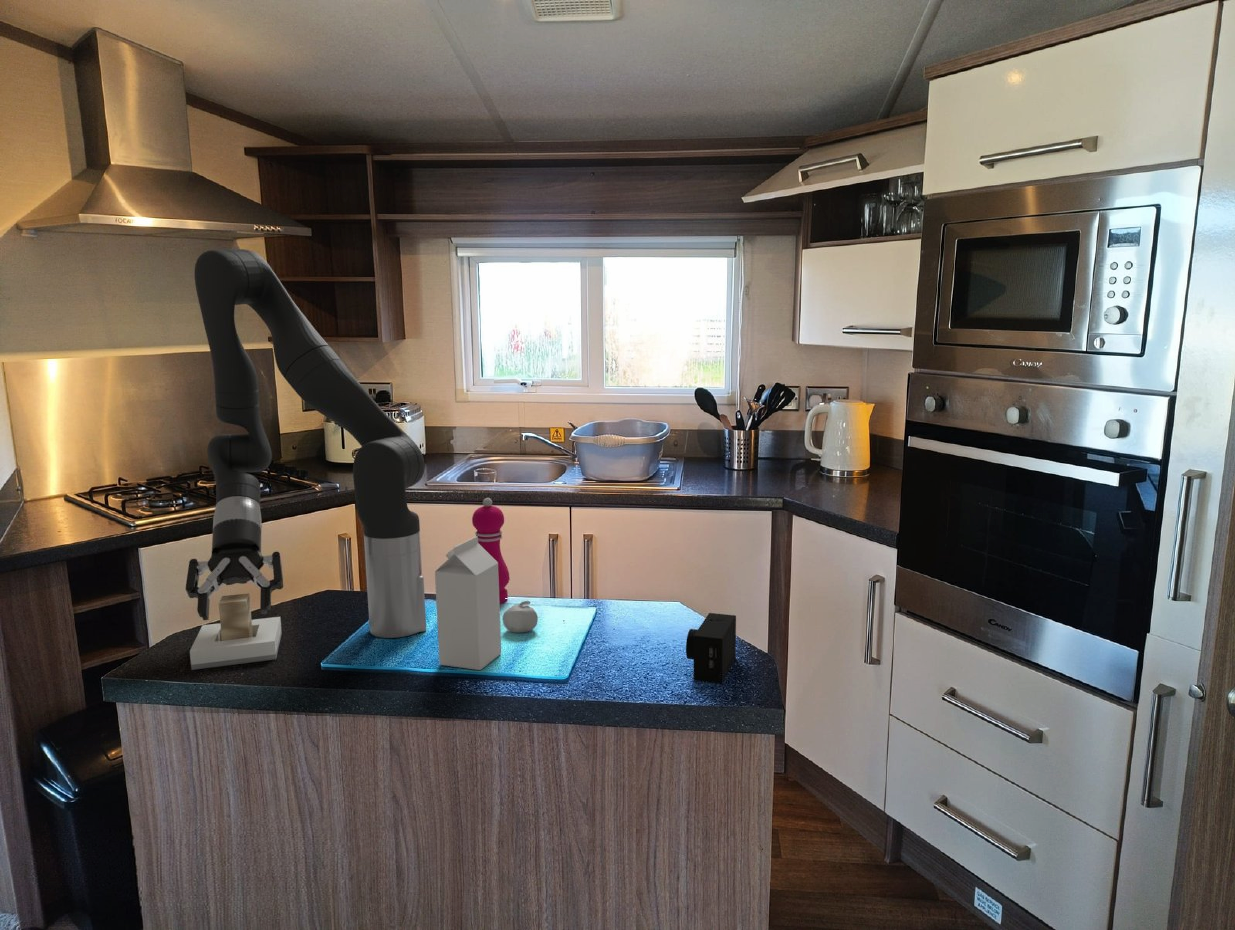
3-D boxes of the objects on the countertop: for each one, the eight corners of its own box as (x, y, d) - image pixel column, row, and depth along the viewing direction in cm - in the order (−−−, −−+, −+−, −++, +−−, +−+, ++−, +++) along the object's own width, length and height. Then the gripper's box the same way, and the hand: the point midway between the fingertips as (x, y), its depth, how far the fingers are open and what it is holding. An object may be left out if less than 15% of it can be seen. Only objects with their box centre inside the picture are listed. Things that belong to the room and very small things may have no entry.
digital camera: (701, 653, 128) (701, 611, 127) (735, 657, 126) (736, 614, 125) (685, 679, 118) (685, 634, 117) (722, 684, 116) (722, 638, 115)
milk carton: (501, 654, 128) (497, 537, 125) (480, 671, 122) (475, 549, 119) (462, 649, 131) (457, 534, 128) (439, 665, 124) (432, 545, 121)
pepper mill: (502, 607, 151) (499, 502, 148) (466, 605, 152) (461, 501, 149) (515, 595, 158) (511, 494, 155) (480, 593, 159) (476, 493, 156)
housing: (281, 633, 139) (280, 616, 138) (276, 659, 128) (274, 640, 127) (204, 642, 135) (202, 625, 135) (191, 669, 124) (189, 651, 123)
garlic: (539, 624, 141) (538, 596, 141) (537, 636, 136) (536, 606, 135) (505, 625, 141) (504, 596, 141) (501, 636, 136) (500, 607, 135)
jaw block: (253, 639, 134) (249, 593, 132) (250, 648, 130) (246, 600, 129) (226, 642, 132) (222, 596, 131) (223, 651, 129) (218, 603, 127)
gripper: (186, 520, 133) (180, 609, 124) (279, 513, 137) (280, 598, 128) (195, 544, 139) (189, 630, 130) (284, 537, 143) (285, 620, 134)
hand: (234, 614), depth 129 cm, fingers open, 8 cm apart
